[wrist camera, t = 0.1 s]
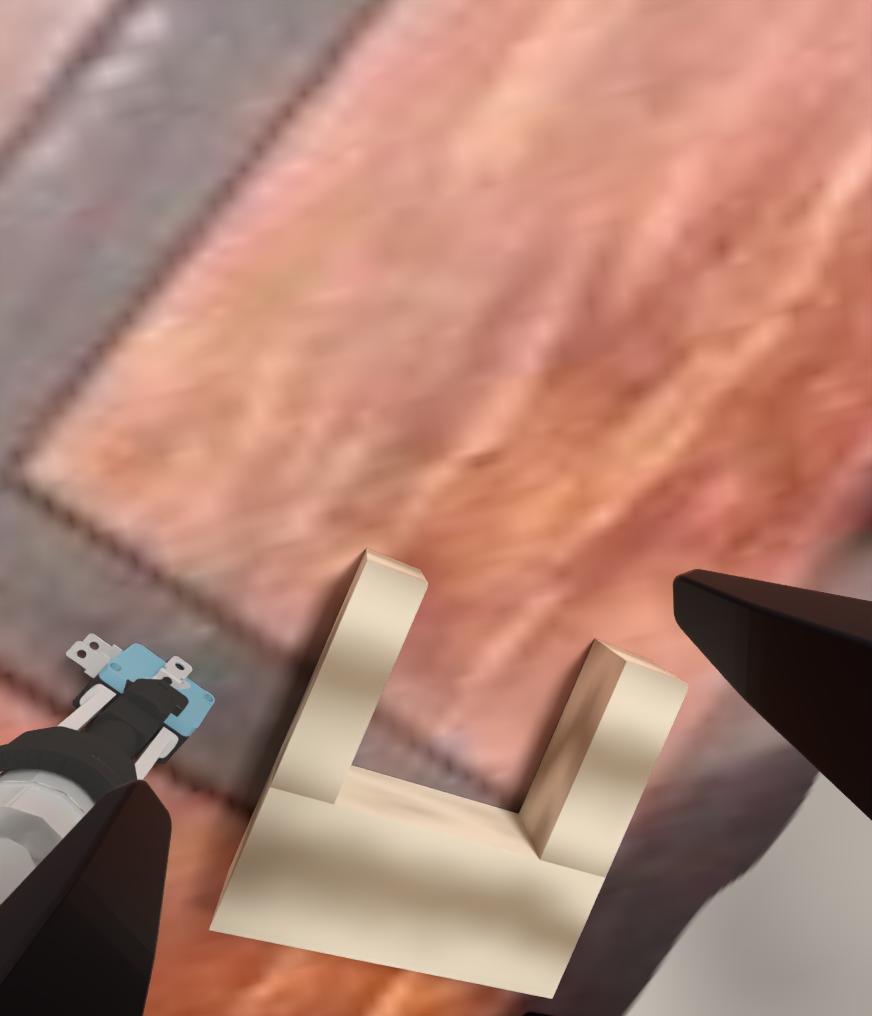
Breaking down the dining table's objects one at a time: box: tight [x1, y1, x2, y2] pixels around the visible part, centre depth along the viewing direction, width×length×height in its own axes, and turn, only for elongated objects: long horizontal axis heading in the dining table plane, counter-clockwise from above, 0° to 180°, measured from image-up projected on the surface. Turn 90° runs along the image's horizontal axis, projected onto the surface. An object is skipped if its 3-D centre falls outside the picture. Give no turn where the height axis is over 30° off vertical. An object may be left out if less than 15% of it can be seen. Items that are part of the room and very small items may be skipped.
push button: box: [0, 634, 215, 905], centre depth 16 cm, size 7×5×10 cm
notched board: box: [209, 548, 689, 999], centre depth 22 cm, size 18×18×3 cm
